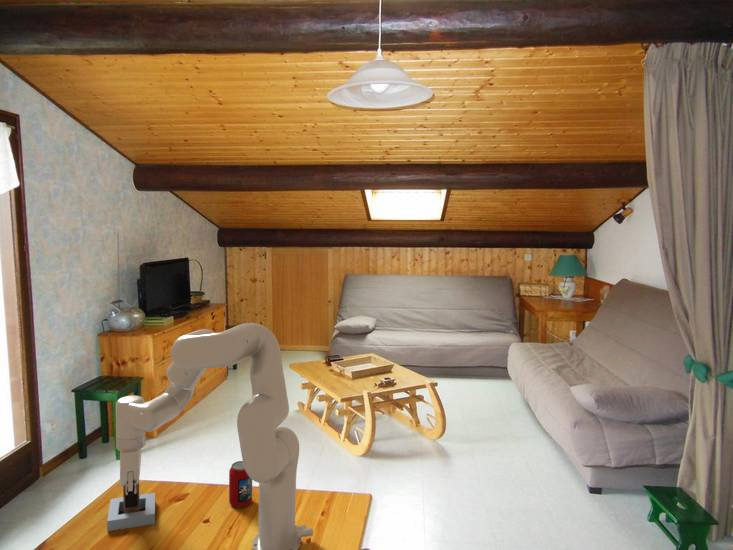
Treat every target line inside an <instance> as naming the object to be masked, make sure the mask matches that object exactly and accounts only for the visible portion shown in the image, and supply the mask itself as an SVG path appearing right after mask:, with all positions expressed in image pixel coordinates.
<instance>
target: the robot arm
mask: <svg viewBox="0 0 733 550" xmlns="http://www.w3.org/2000/svg"><path fill="white" fill-rule="evenodd" d="M170 357H171V360H172V362H171V363H170V364H169V366H168V367H167V369H166V371H165V372H166V374H165V375H166V377H167V379H168V381H169V382H170V384H169V385H168V387H166V389H165V391H164V392H163V393H162V394H160V395H158V396H157V397H155V398H153V399H151V400H149V401H146V402H145V399H144V397H142V396H140V395H134V394H133V395H132V394H131V395H126V396H122V397H120V398H119V399H117V400H116V403H115V437H116V438H115V441H116V442H115V445H116V451H117V450H118V451H119V486H120V487H123V486H124V485H125V483H126V494H125V508H130V507H137V505H138V494H137V492H136V484H138V483H139V484H140V475H141V465H142V464H141V463H142V449H143V448H144V447H145V446H146V432H148V433H149V432H150V433H151V432H152V431H155V430H157V429H159V428H160V427H162V426H164V425H165V424H166V423H168V422H170V421H172V420H173V419H175V418H176V417H177V416H178V415H180V413H182V411H183V410H184V409H185V407H186V406H187V405H188V403H189V402H190V400H191V399H192V397H193V395H194V393H195V389H196V384H197V383H198V381H200V379H201V378H202V376H203V375H204V374H205V372H206V370H207V369H216V368H224V367H230V366H233V365H236V364H238V363H241V362H242V361H243V360H245V359H247V358H250V369H249V380H250V385H251V398H250V399H249V400H247V401H246V402H245V403H244V404H242V406H241V407H240V409H239V411H238V414H237V419H236V428H237V433H238V439H239V446H240V453H241V461H243V465H244V468H245V471H246V473H247V474H248V476H249V477H250V478H251V479H252V481H254V482H255V483H258V526H257V527H258V531H257V532H258V533H257V534H256V535H255V536H254V538H253V540H252V541H251V548H252V550H297V549H298V548H299V546H300V547H301V544H300V543H302V542H301V539H302V538H305V537H310V536H311V537H312V536H314V532H313V527H307V526H306V524H302V525H301V524H300V525H296V503H297V502H296V498H297V497H296V495H297V471H298V463H299V456H300V442H299V438H298V436H297V434H296V433H295V432H294V431H293V430H292V429H291V428H288V427H285V426H281V424H282V423H283V422H285V420H286V419H287V417H288V416H289V413H290V406H289V405H290V404H289V399H288V392H287V387H286V386H287V385H286V378H285V373H284V368H283V360H282V351H281V348H280V344H279V342H278V339H277V337H276V335H275V334H274V333H273V332H272V331H271V330H270V329H269V328H268V327H266V326H265V325H262V324H260V323H256V322H246V323H245V322H244V323H240V324H239V325H236V326H233V327H231V328H229V329H225V330H223V331H221V332H215V331H214V330H212V329H208V328H202V329H197V330H195V331H192V332H189V333H187V334H184V335H183V334H182V336H179V337H178V338H177V339H176V340H175V341H174V342H173V343H172V346H171V349H170ZM133 481H135V482H133ZM127 482H128V483H127ZM133 485H134V487H133ZM299 549H300V548H299ZM299 549H298V550H299Z"/></svg>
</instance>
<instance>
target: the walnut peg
mask: <svg viewBox="0 0 733 550" xmlns="http://www.w3.org/2000/svg"><path fill="white" fill-rule="evenodd" d="M133 482H135V481H133ZM127 483H128V482H127ZM122 487H123V488H122V492H123V502H124V511H123V514H126V513H133V512H139V511H140V509H139V506H140V500H139V495H140V482H139V483H138V484H136V492H137V494H138V505H137V507H130V508H125V494H126V483H125V485H124V486H122ZM133 487H134V485H133Z"/></svg>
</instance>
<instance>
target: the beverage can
mask: <svg viewBox="0 0 733 550" xmlns="http://www.w3.org/2000/svg"><path fill="white" fill-rule="evenodd" d="M228 473H229V474H228V497H229V498H228V502H229V504H230V505H231V506H232V507H235V508H244V507H246V505H247V506H248V505H249V504H251V503H252V501H253V480H252V479H251V478H250V477H249V476H248V474H247V473H246V471H245V468H244V465H243V460H240V461H239V460H238V461H235V462H233V463H232V464H231V467H230V469H229V470H228Z"/></svg>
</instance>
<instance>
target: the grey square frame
mask: <svg viewBox="0 0 733 550" xmlns="http://www.w3.org/2000/svg"><path fill="white" fill-rule="evenodd" d="M139 500H140V506H139V512H133V513H126V514H124V513H121V512H124V502H123V497H122V496H121V497H115V498H110V501H109V508H108V514H107V517H106V519H107V520H106V531H108V532H113V530H114V531H119V530H118V529H121V530H125V529H126V528H127V529H131V528H137V527H138V528H139V527H145V526H152V525H155V524H156V493H155V492H151V493H149V492H148V493H143V494H139ZM140 509H145V510H142V511H141V510H140ZM120 511H121V512H120ZM119 513H120V514H119Z"/></svg>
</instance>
